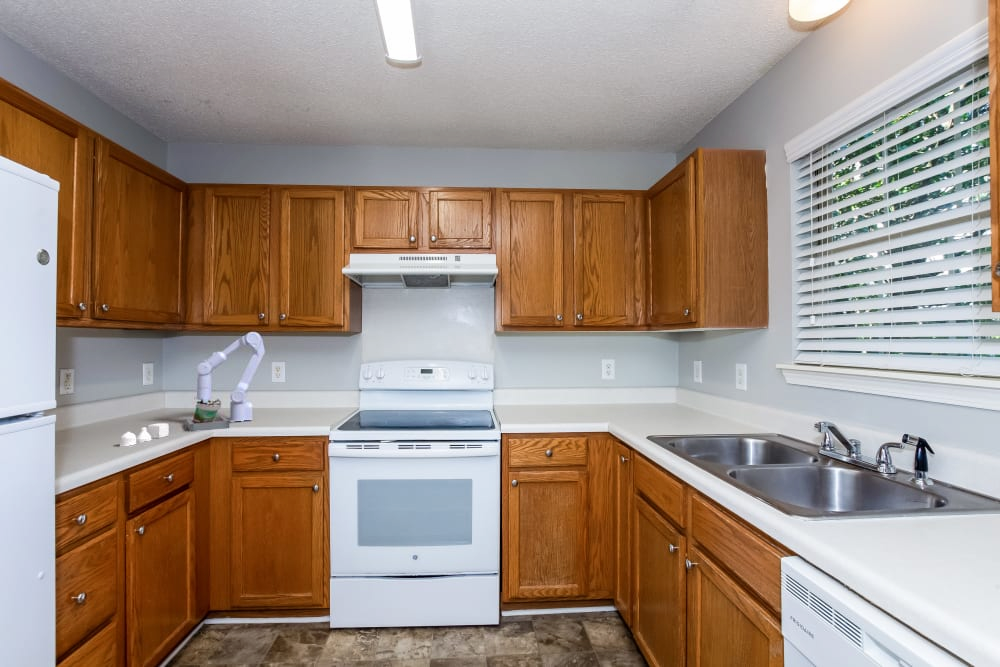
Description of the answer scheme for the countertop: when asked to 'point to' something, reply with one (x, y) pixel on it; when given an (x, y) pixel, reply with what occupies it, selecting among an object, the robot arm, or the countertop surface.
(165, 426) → the container set
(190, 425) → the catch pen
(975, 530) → the countertop surface
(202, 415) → the food container
